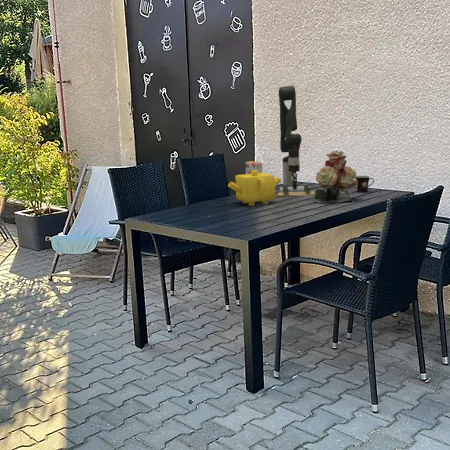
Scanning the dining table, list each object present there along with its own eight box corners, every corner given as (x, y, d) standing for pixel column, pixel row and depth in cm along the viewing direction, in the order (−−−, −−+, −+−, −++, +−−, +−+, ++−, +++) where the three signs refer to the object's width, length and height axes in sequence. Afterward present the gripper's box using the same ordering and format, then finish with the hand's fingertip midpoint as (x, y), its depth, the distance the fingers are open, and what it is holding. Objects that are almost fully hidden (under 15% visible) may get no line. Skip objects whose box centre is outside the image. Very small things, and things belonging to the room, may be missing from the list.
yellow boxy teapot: (270, 196, 382) (269, 165, 378) (290, 203, 355) (290, 170, 351) (220, 202, 371) (218, 170, 367) (237, 209, 344) (235, 175, 340)
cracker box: (246, 191, 406) (245, 161, 402) (253, 190, 409) (252, 160, 404) (255, 194, 394) (254, 163, 389) (263, 193, 396) (262, 162, 392)
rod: (280, 194, 395) (280, 192, 391) (279, 188, 396) (280, 186, 392) (309, 193, 394) (310, 190, 390) (309, 187, 396) (310, 184, 392)
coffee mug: (355, 192, 383) (355, 177, 381) (356, 190, 391) (356, 175, 389) (373, 192, 380) (373, 177, 378) (374, 190, 388) (374, 175, 386)
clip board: (277, 194, 390) (277, 186, 388) (313, 193, 389) (313, 185, 388) (278, 197, 379) (278, 189, 378) (316, 195, 378) (315, 187, 377)
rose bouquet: (313, 203, 351) (313, 153, 345) (317, 195, 379) (317, 149, 373) (357, 204, 345) (357, 153, 339) (358, 195, 373) (358, 148, 366)
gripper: (287, 163, 398) (287, 186, 402) (289, 165, 385) (289, 189, 388) (298, 162, 398) (298, 186, 401) (300, 164, 384) (300, 189, 387)
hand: (294, 188), depth 395 cm, fingers open, 8 cm apart
